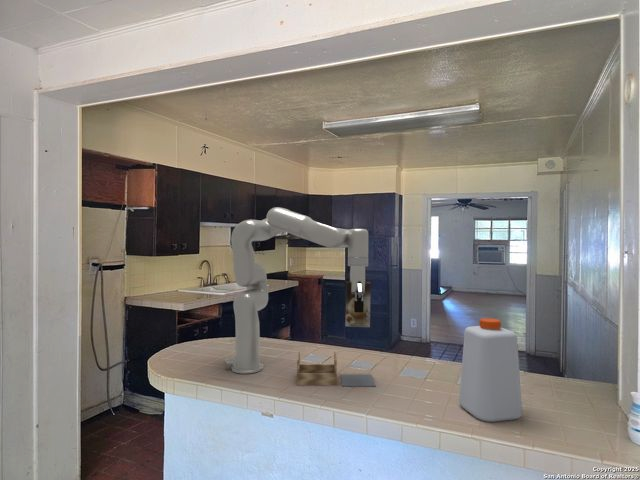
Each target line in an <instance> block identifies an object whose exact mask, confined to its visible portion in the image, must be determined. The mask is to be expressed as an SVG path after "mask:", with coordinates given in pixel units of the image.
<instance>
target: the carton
mask: <svg viewBox="0 0 640 480" xmlns="http://www.w3.org/2000/svg"><path fill="white" fill-rule="evenodd" d="M296 359H297V360H296V361H297V362H296V365H297V366H296V367H297V368H296V369H297V370H296V385H297V386H337V382H338V381H337V380H338V379H337V376H338V373H337V365H338V364H337V363H338V360H337V353H336V351H333V363H331V364H330V363H328V364H326V363H325V364H323V363H320V364H319V363H314V364H313V363H312V364H311V363H310V364H309V363H303V364H302V363H301V351H298V354H297V358H296Z"/></svg>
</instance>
